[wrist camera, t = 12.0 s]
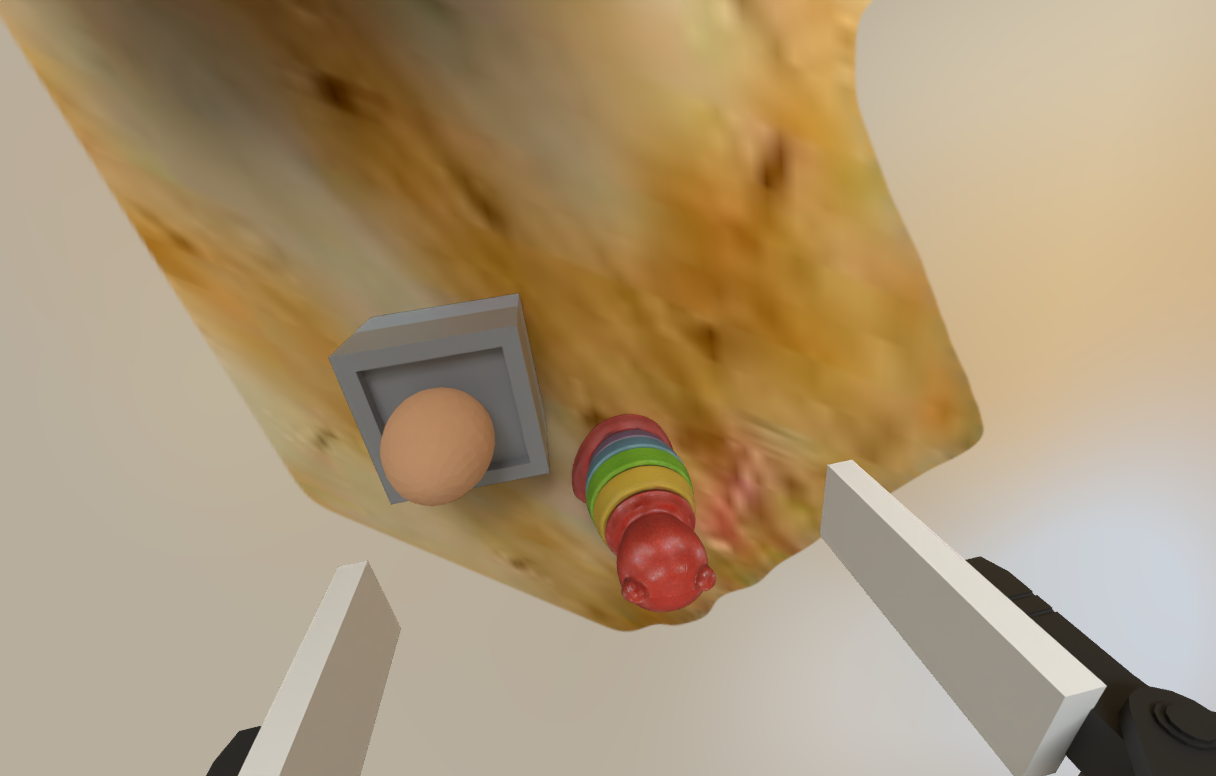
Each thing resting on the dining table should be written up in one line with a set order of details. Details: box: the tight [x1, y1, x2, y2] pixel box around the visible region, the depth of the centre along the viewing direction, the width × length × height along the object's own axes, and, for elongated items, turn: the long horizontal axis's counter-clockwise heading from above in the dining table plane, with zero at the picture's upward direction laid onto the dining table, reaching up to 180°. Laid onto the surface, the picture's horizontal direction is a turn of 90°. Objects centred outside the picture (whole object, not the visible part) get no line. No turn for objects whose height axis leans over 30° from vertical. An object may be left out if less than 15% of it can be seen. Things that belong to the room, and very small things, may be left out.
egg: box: [380, 387, 495, 506], centre depth 29 cm, size 7×7×9 cm
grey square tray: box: [328, 293, 550, 504], centre depth 36 cm, size 12×12×9 cm
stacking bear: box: [572, 414, 716, 612], centre depth 39 cm, size 11×10×18 cm
